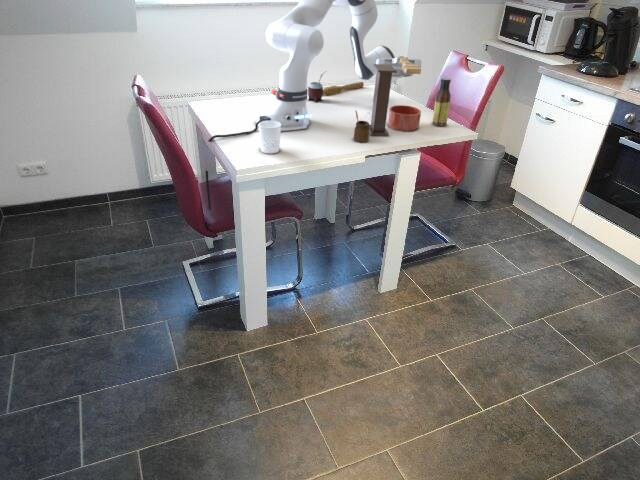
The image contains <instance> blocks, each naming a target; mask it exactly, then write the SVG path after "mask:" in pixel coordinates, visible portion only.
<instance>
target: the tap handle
mask: <svg viewBox="0 0 640 480" xmlns="http://www.w3.org/2000/svg"><path fill="white" fill-rule="evenodd" d="M364 86H365V85H364V82H363V81H359V82H353V83H349V84H345V85H339V86H338V85H332V86H331V85H330V86H326V87H323V94H322V96H332V95H337V94H340V93H341V92H343V91H348V90H356V89H361V88H364Z"/></svg>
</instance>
